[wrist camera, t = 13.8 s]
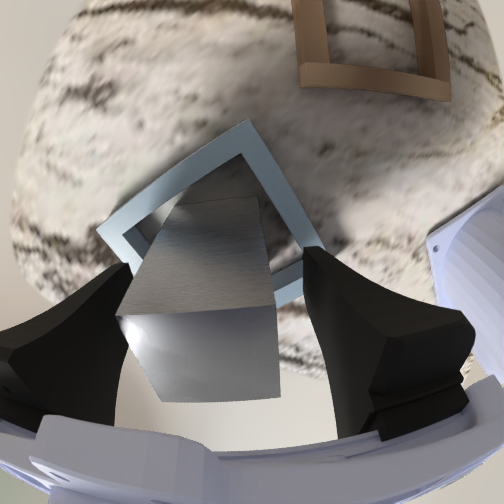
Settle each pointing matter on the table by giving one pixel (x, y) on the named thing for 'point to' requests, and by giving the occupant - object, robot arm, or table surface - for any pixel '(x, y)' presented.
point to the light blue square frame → (192, 169)
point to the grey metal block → (206, 306)
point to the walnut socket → (368, 78)
